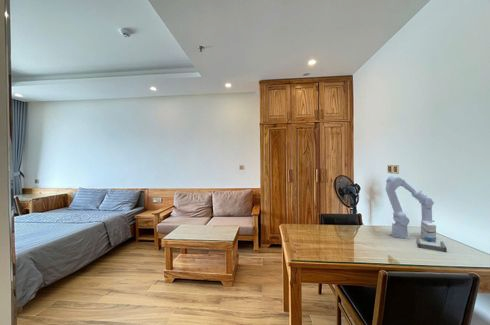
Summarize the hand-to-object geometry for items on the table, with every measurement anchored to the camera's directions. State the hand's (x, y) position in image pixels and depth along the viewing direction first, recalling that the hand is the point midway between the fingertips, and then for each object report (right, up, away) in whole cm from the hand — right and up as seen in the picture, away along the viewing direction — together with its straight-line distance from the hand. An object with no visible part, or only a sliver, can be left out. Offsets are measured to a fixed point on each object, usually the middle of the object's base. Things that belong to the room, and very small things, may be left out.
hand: (427, 232), depth 154 cm
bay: (-11, -4, -16) cm, 20 cm away
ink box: (-3, -3, -4) cm, 6 cm away
